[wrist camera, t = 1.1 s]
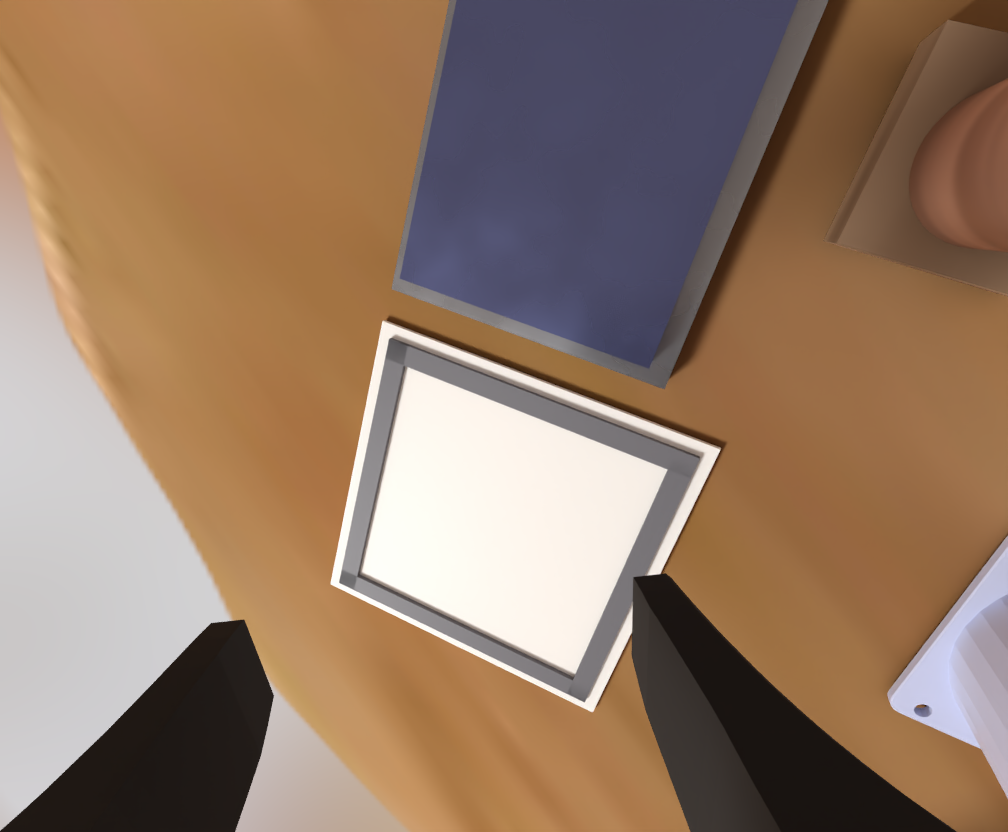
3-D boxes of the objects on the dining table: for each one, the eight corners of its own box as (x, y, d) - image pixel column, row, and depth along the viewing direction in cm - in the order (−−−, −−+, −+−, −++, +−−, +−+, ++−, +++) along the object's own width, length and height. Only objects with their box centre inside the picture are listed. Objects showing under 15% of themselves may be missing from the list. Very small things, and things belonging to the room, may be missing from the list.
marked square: (720, 447, 19) (721, 451, 19) (593, 708, 24) (591, 716, 24) (385, 320, 22) (380, 321, 21) (333, 581, 27) (328, 586, 27)
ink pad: (844, -45, 15) (865, -82, 13) (666, 381, 19) (662, 397, 17) (489, -118, 16) (463, -160, 15) (404, 286, 21) (377, 292, 19)
